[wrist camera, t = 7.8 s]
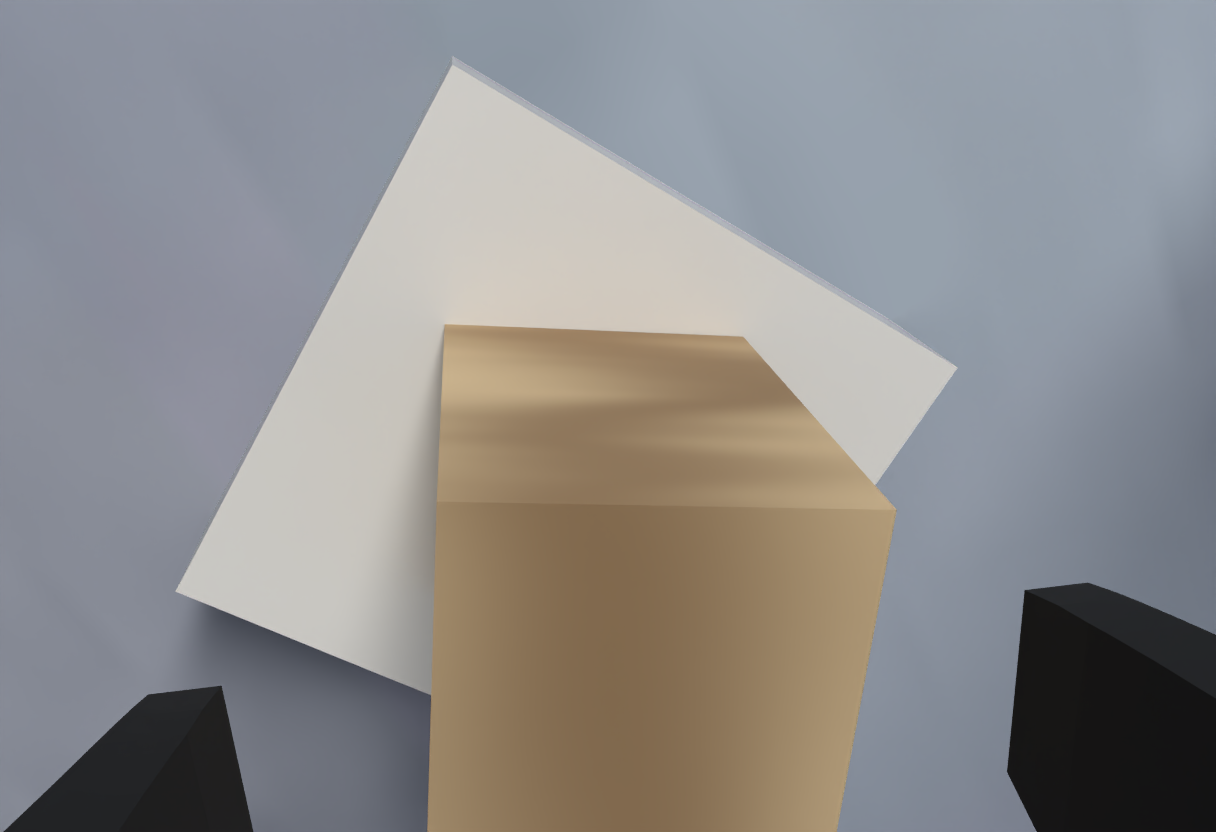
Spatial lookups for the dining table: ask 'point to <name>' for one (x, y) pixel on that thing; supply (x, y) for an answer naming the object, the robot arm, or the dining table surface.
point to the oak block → (643, 589)
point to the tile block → (511, 297)
